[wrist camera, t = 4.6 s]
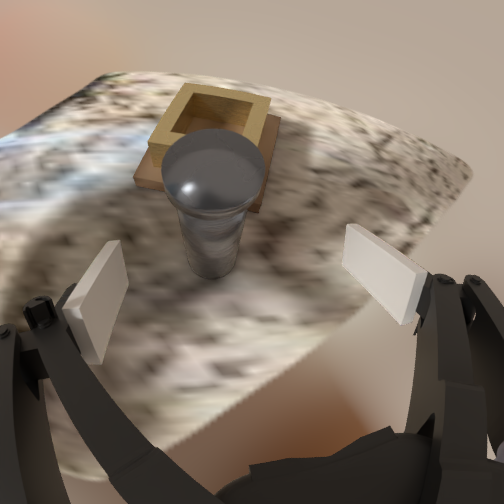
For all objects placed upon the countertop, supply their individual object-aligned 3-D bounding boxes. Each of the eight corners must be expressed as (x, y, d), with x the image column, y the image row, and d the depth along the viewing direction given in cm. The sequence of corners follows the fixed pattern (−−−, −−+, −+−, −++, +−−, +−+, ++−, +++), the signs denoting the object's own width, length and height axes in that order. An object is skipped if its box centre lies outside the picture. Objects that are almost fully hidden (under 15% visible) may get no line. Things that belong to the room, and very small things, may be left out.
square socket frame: (153, 166, 24) (147, 141, 21) (185, 107, 28) (184, 82, 24) (247, 186, 25) (253, 162, 21) (265, 122, 28) (271, 98, 25)
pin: (176, 275, 22) (145, 196, 11) (192, 224, 24) (181, 121, 13) (233, 289, 23) (253, 221, 12) (245, 237, 25) (272, 140, 13)
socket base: (136, 185, 25) (132, 176, 24) (179, 107, 30) (178, 97, 28) (258, 213, 26) (261, 204, 24) (278, 126, 30) (280, 117, 29)
